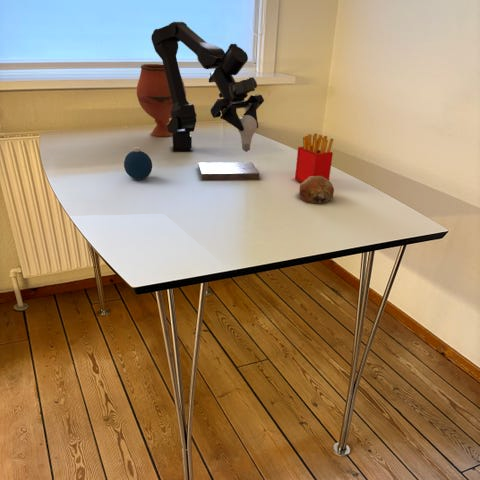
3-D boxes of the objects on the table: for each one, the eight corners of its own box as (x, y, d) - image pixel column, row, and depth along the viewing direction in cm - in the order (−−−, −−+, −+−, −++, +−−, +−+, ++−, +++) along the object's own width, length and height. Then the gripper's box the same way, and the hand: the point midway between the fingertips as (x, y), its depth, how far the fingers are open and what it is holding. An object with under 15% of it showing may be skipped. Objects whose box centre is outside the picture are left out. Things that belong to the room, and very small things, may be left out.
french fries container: (311, 177, 158) (317, 132, 151) (329, 185, 152) (336, 138, 144) (293, 180, 155) (298, 133, 148) (311, 188, 149) (317, 140, 141)
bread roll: (332, 209, 145) (338, 181, 144) (328, 204, 135) (334, 175, 134) (299, 204, 147) (304, 176, 146) (293, 199, 137) (299, 170, 136)
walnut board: (201, 180, 151) (201, 173, 150) (198, 169, 161) (198, 162, 160) (258, 179, 154) (259, 173, 153) (252, 168, 164) (252, 162, 163)
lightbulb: (251, 155, 155) (253, 118, 149) (233, 152, 157) (235, 115, 151) (257, 150, 160) (260, 114, 154) (240, 148, 162) (241, 112, 156)
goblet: (184, 140, 192) (182, 69, 179) (135, 138, 192) (129, 67, 178) (189, 130, 208) (187, 64, 195) (143, 128, 208) (139, 61, 194)
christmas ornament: (158, 178, 151) (157, 145, 146) (138, 185, 145) (136, 150, 140) (139, 173, 155) (137, 140, 150) (119, 179, 149) (116, 145, 144)
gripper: (217, 69, 142) (242, 116, 142) (262, 66, 153) (285, 110, 153) (199, 94, 151) (223, 139, 151) (243, 89, 162) (264, 131, 162)
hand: (249, 129), depth 154 cm, fingers closed on lightbulb, 6 cm apart
